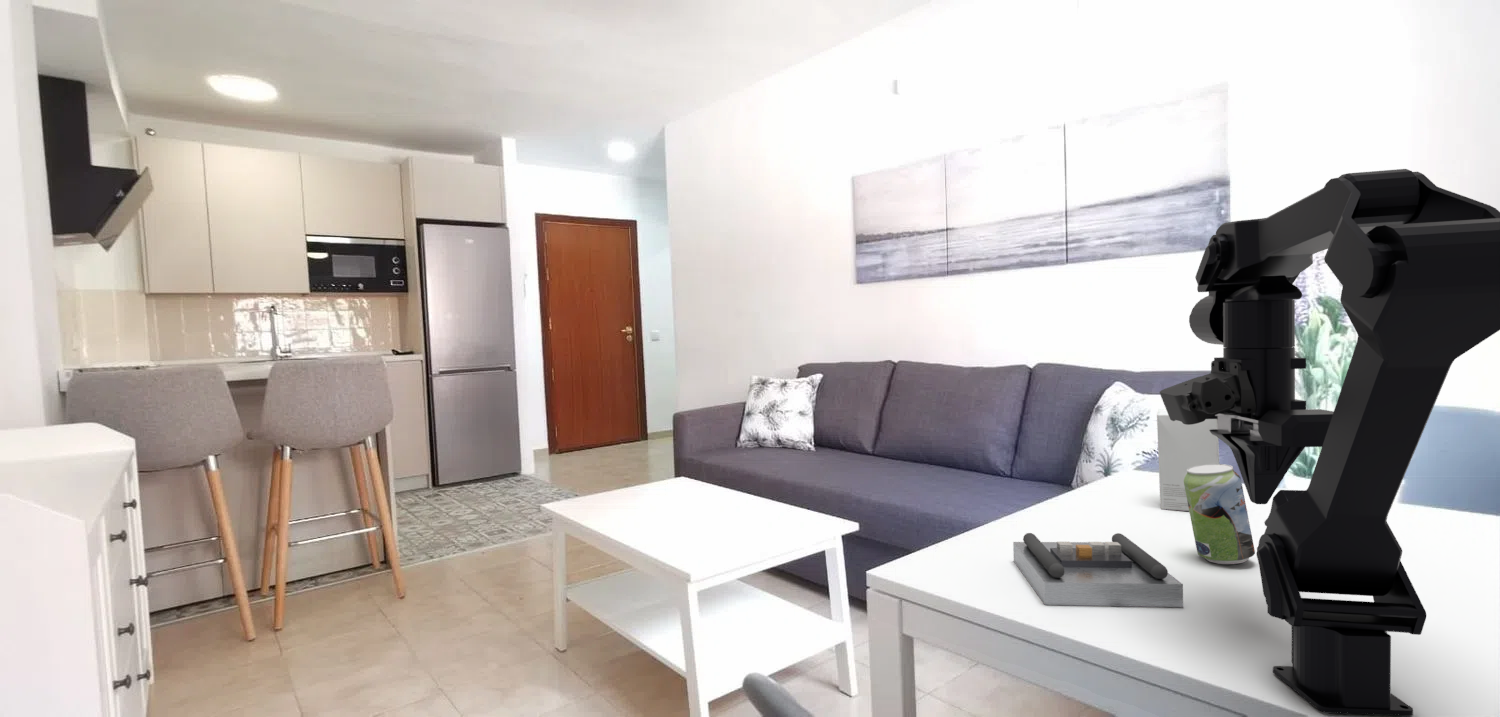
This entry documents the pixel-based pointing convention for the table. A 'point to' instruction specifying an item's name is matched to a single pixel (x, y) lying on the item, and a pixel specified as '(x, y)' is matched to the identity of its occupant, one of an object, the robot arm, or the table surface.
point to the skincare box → (1182, 456)
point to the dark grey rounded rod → (1141, 557)
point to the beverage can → (1218, 514)
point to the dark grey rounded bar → (1044, 555)
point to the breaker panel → (1096, 577)
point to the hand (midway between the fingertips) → (1258, 503)
